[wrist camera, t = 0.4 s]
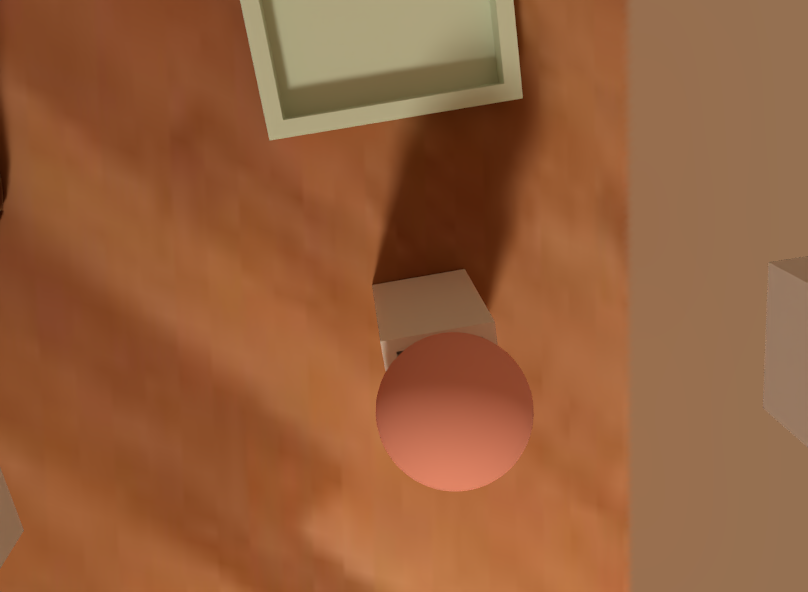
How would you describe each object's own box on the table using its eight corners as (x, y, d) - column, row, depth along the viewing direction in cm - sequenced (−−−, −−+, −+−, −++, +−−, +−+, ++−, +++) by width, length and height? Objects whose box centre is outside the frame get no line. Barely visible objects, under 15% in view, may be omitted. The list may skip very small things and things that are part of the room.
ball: (361, 324, 32) (366, 388, 26) (505, 298, 32) (544, 356, 26) (384, 451, 34) (394, 538, 28) (520, 427, 35) (559, 508, 28)
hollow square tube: (372, 284, 39) (380, 341, 32) (464, 268, 40) (494, 321, 32) (386, 369, 41) (398, 442, 34) (475, 354, 41) (507, 423, 34)
